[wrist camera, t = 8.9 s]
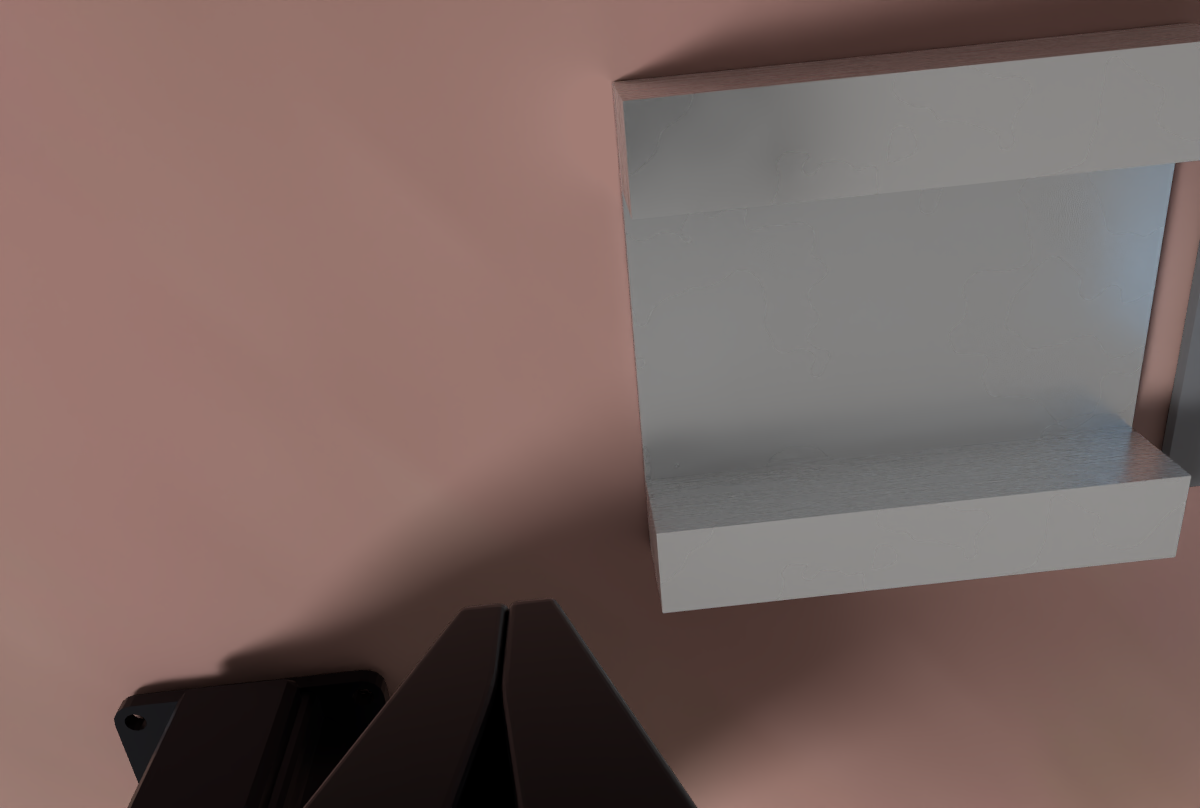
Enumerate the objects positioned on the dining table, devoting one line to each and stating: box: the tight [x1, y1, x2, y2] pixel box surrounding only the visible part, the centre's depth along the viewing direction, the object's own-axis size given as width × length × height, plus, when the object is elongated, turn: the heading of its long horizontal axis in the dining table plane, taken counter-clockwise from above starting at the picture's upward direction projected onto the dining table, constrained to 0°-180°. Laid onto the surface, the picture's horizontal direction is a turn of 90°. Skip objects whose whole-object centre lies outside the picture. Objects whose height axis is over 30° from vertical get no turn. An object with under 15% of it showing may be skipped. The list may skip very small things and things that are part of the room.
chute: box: [612, 23, 1200, 613], centre depth 19 cm, size 11×10×2 cm
